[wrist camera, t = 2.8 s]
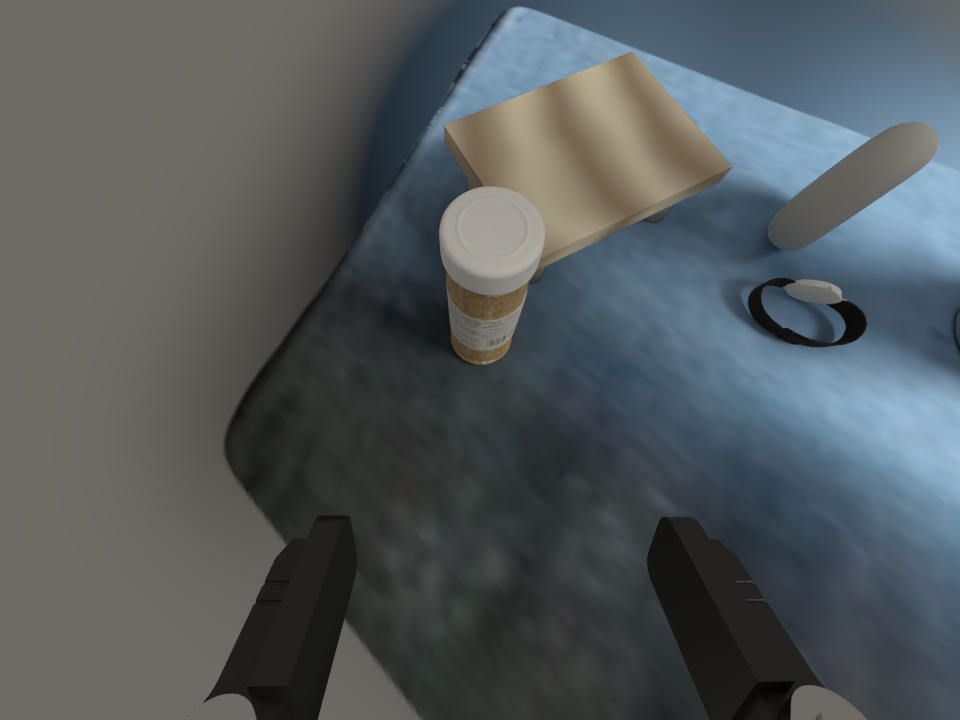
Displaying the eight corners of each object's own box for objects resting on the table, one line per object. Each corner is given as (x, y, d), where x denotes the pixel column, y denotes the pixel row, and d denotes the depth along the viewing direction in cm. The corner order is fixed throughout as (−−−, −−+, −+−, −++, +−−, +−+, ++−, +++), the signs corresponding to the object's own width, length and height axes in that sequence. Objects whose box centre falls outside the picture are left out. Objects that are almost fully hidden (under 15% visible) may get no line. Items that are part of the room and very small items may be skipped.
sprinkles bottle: (498, 301, 30) (523, 169, 18) (520, 355, 29) (565, 256, 16) (441, 320, 30) (423, 197, 17) (461, 375, 29) (459, 289, 16)
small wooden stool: (605, 120, 36) (632, 51, 30) (685, 221, 33) (732, 166, 27) (447, 186, 33) (443, 125, 28) (520, 303, 30) (533, 261, 25)
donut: (761, 279, 32) (888, 192, 22) (731, 247, 33) (842, 150, 23) (843, 221, 34) (993, 119, 24) (813, 193, 35) (946, 82, 25)
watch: (843, 313, 31) (890, 292, 28) (834, 366, 30) (882, 351, 27) (747, 277, 32) (782, 252, 29) (735, 327, 31) (769, 307, 27)
